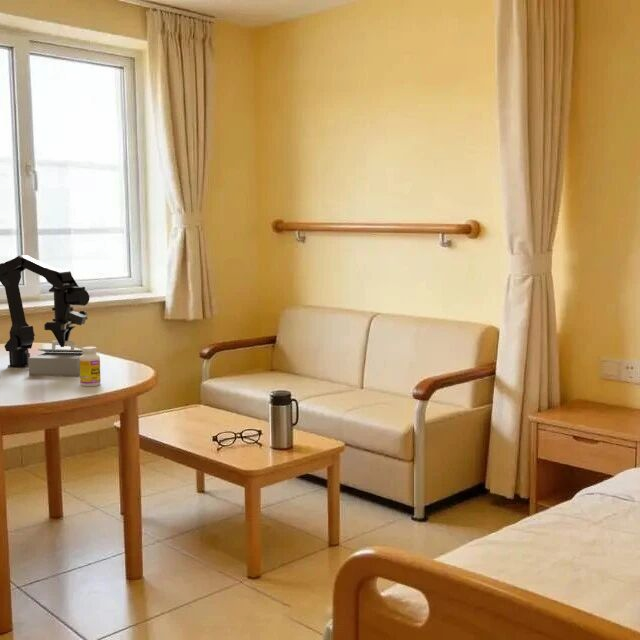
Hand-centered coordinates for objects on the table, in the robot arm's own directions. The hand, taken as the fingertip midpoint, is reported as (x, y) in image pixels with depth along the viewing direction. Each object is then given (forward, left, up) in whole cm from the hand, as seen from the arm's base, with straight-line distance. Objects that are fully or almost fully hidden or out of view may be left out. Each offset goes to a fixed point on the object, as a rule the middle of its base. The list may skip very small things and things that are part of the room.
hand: (63, 346), depth 287 cm
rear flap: (0, +1, -2) cm, 2 cm away
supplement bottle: (+19, -23, -9) cm, 31 cm away
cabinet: (0, -3, -9) cm, 9 cm away
